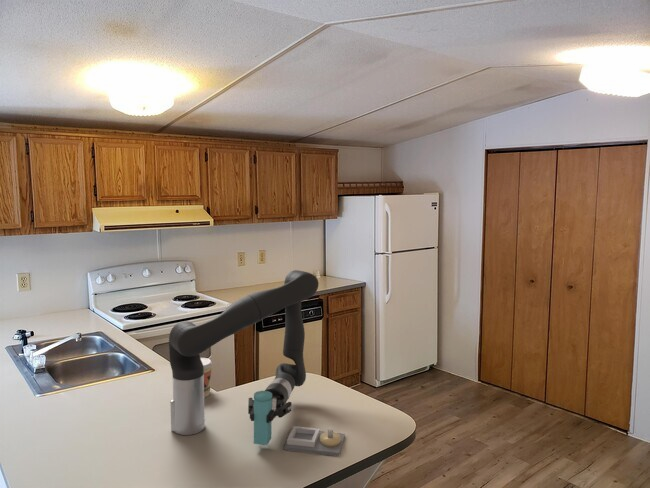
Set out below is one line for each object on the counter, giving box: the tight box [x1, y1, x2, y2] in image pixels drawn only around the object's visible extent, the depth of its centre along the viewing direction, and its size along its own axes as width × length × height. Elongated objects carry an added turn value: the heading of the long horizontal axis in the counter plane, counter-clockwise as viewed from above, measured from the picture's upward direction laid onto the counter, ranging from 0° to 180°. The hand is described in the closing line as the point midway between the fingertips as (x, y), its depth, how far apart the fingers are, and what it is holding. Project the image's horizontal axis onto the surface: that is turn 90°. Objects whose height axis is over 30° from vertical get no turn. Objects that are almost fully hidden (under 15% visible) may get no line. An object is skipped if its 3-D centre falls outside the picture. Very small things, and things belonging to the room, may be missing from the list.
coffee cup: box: [200, 357, 213, 398], centre depth 178 cm, size 9×9×12 cm
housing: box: [283, 425, 346, 457], centre depth 146 cm, size 16×11×4 cm
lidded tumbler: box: [253, 390, 273, 446], centre depth 142 cm, size 5×5×14 cm
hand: (259, 418), depth 140 cm, fingers closed on lidded tumbler, 4 cm apart
